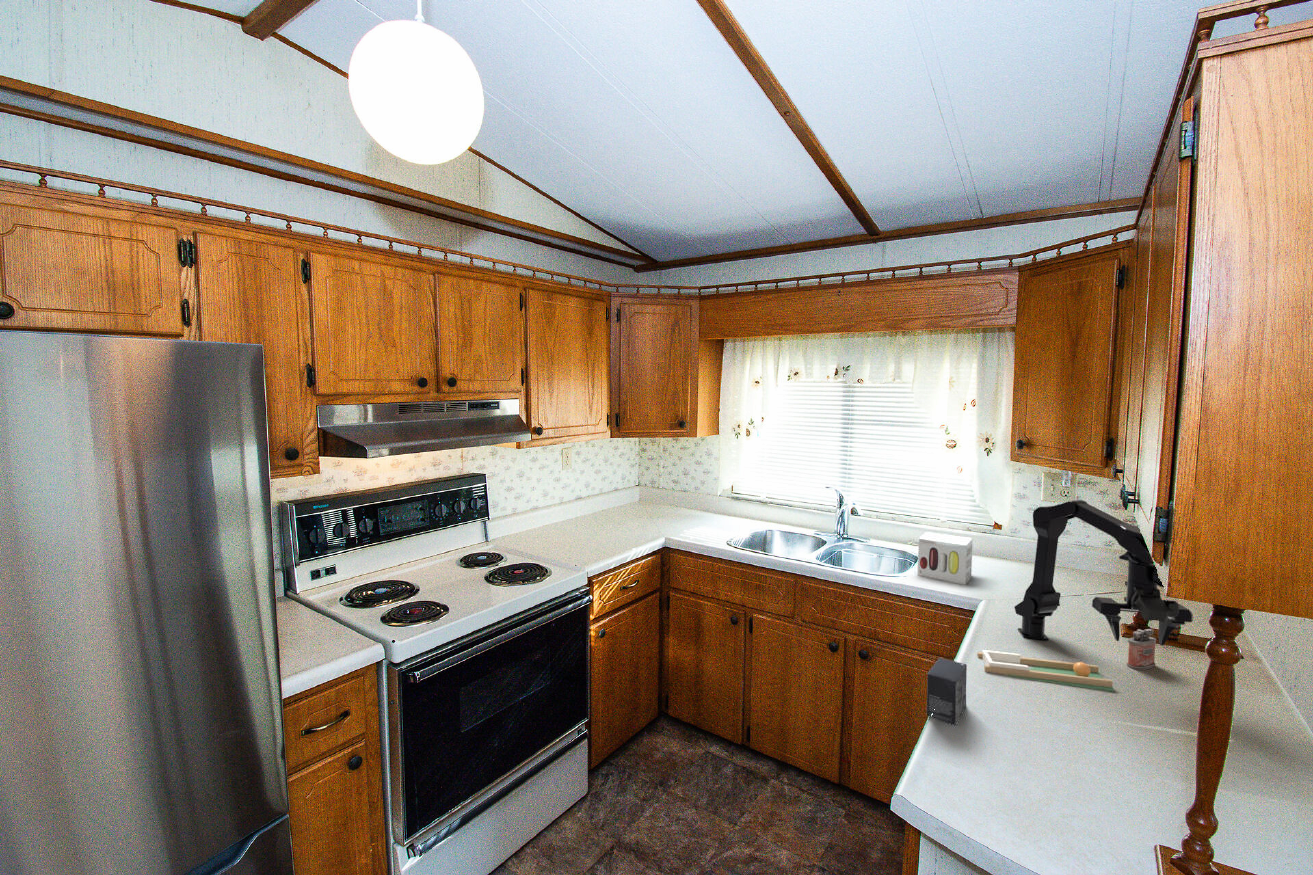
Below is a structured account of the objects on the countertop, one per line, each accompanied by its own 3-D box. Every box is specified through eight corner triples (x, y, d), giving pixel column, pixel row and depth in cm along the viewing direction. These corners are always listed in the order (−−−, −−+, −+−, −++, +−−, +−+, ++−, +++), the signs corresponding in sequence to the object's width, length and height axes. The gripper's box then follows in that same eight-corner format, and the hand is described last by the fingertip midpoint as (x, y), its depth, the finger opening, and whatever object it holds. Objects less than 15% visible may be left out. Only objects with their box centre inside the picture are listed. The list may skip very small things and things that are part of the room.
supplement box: (916, 583, 226) (917, 537, 225) (924, 575, 237) (925, 531, 236) (965, 592, 216) (967, 544, 215) (972, 583, 226) (973, 537, 225)
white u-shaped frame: (981, 658, 160) (982, 649, 159) (1019, 662, 157) (1019, 653, 157) (989, 671, 152) (989, 662, 152) (1028, 676, 149) (1028, 666, 149)
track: (976, 657, 161) (976, 650, 161) (1095, 671, 153) (1095, 663, 153) (986, 675, 151) (986, 668, 151) (1114, 691, 143) (1114, 683, 142)
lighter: (1136, 671, 153) (1138, 634, 153) (1123, 665, 156) (1125, 629, 156) (1158, 667, 155) (1160, 630, 155) (1145, 661, 159) (1147, 626, 158)
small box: (936, 698, 140) (938, 656, 139) (966, 707, 136) (968, 663, 135) (924, 717, 132) (925, 672, 131) (956, 727, 128) (957, 681, 127)
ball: (1070, 672, 152) (1071, 658, 151) (1086, 673, 150) (1087, 660, 150) (1075, 678, 148) (1076, 664, 148) (1092, 680, 147) (1093, 666, 147)
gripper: (1112, 588, 139) (1109, 651, 140) (1208, 595, 134) (1204, 661, 135) (1092, 574, 150) (1089, 633, 151) (1181, 580, 144) (1177, 642, 145)
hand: (1138, 642), depth 145 cm, fingers open, 9 cm apart
